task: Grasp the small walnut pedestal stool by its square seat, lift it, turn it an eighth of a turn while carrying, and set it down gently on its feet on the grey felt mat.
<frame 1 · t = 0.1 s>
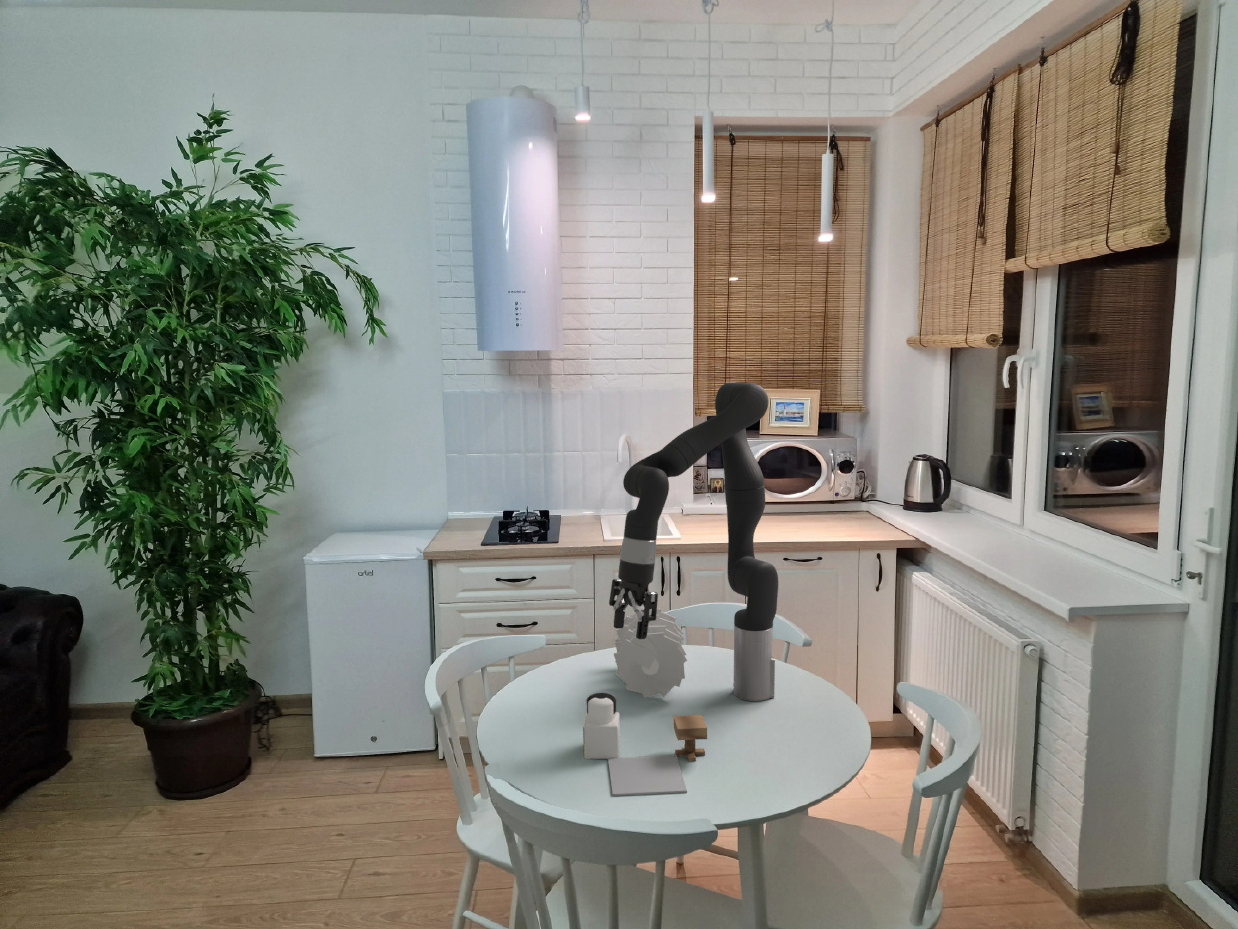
hand: (629, 633, 180), 22 cm above the table, tool pointing down, fingers open, 8 cm apart
stool: (690, 754, 172), on the table
mat: (645, 775, 163), on the table
spiral staircase: (649, 684, 209), on the table
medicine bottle: (602, 752, 174), on the table
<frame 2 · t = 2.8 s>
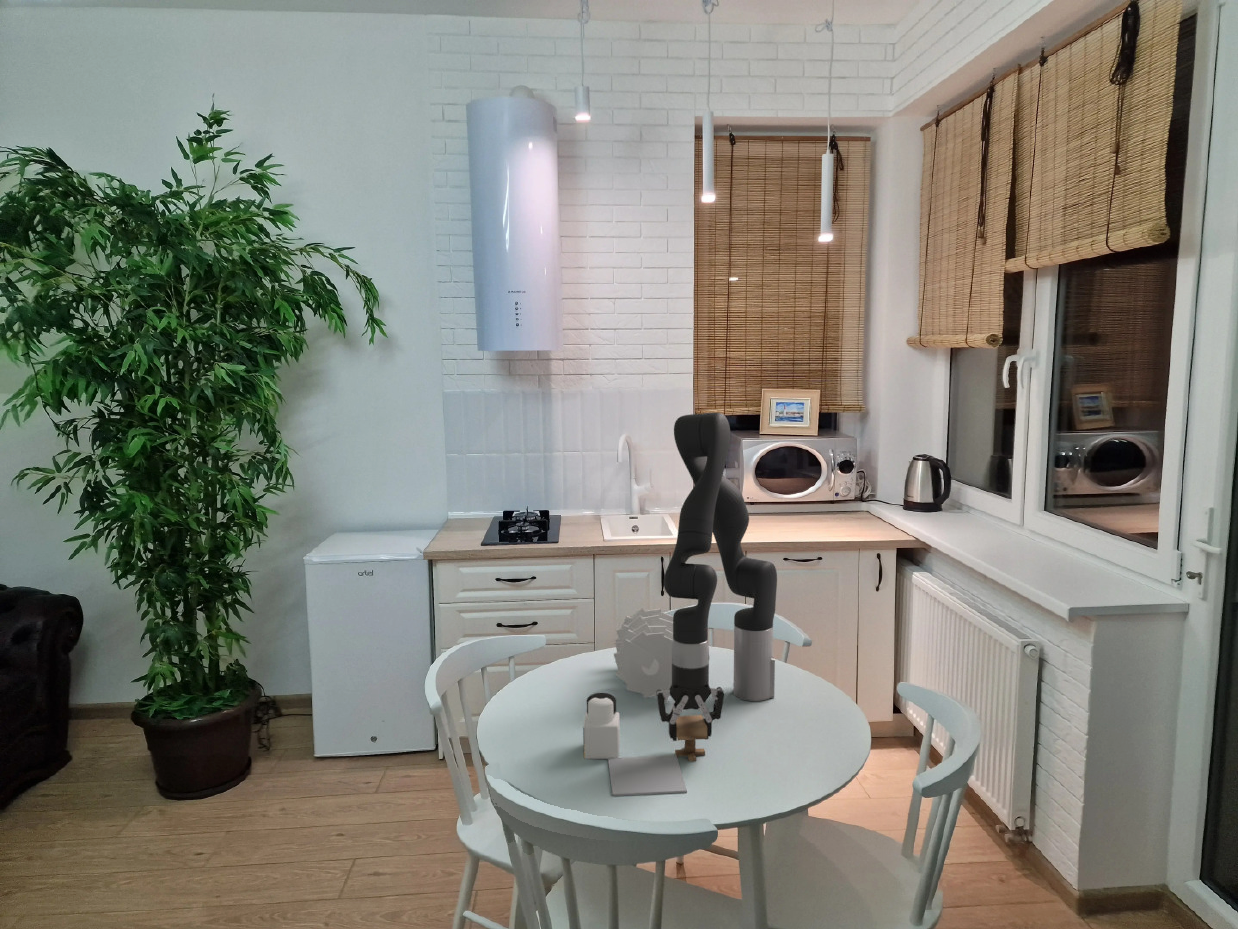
hand: (689, 738, 172), 3 cm above the table, tool pointing down, fingers closed on stool, 6 cm apart
stool: (690, 754, 172), on the table, touching gripper
everything else where it was.
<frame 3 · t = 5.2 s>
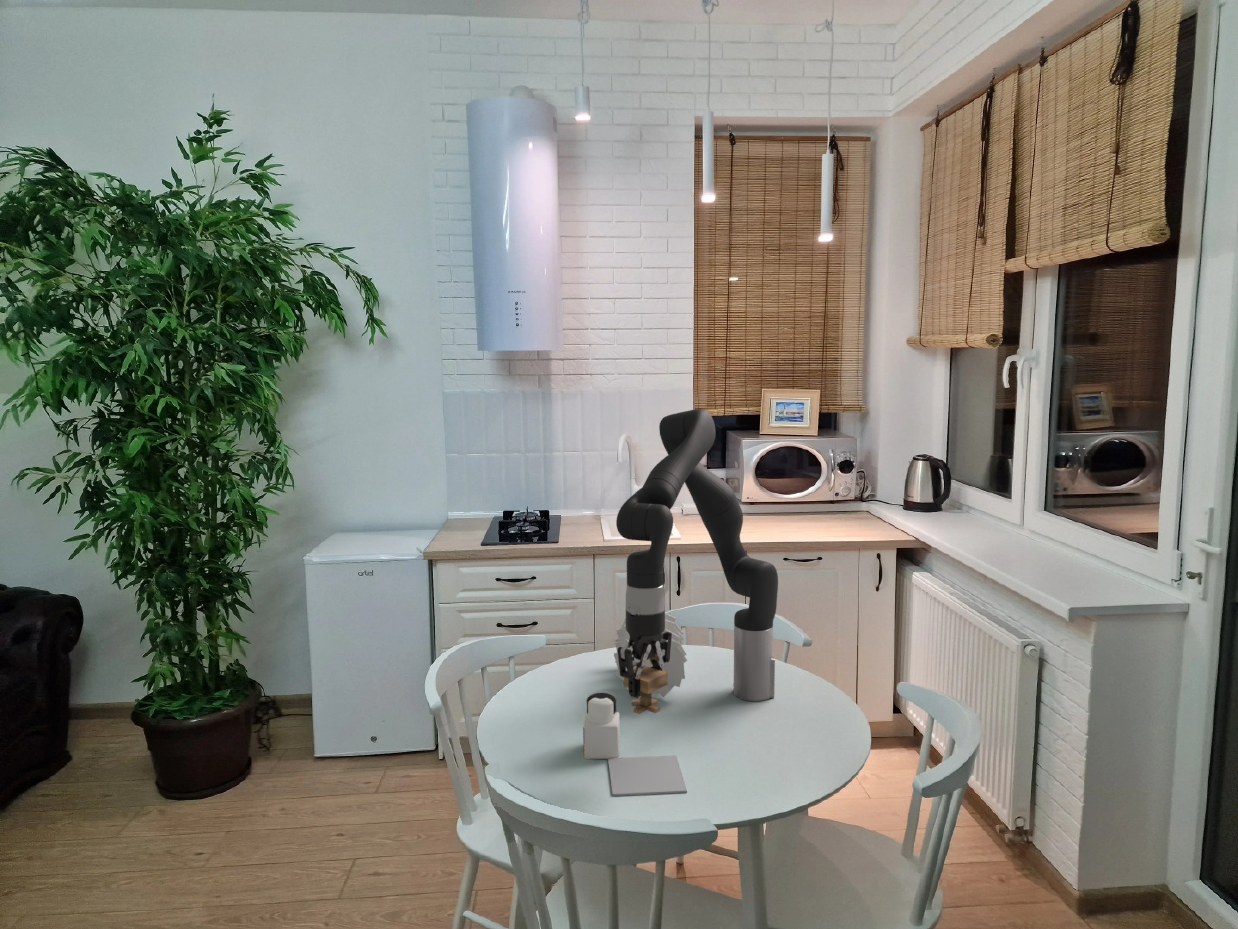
hand: (645, 691, 161), 17 cm above the table, tool pointing down, fingers closed on stool, 6 cm apart
stool: (645, 708, 162), point 14 cm above the table, touching gripper
everything else where it was.
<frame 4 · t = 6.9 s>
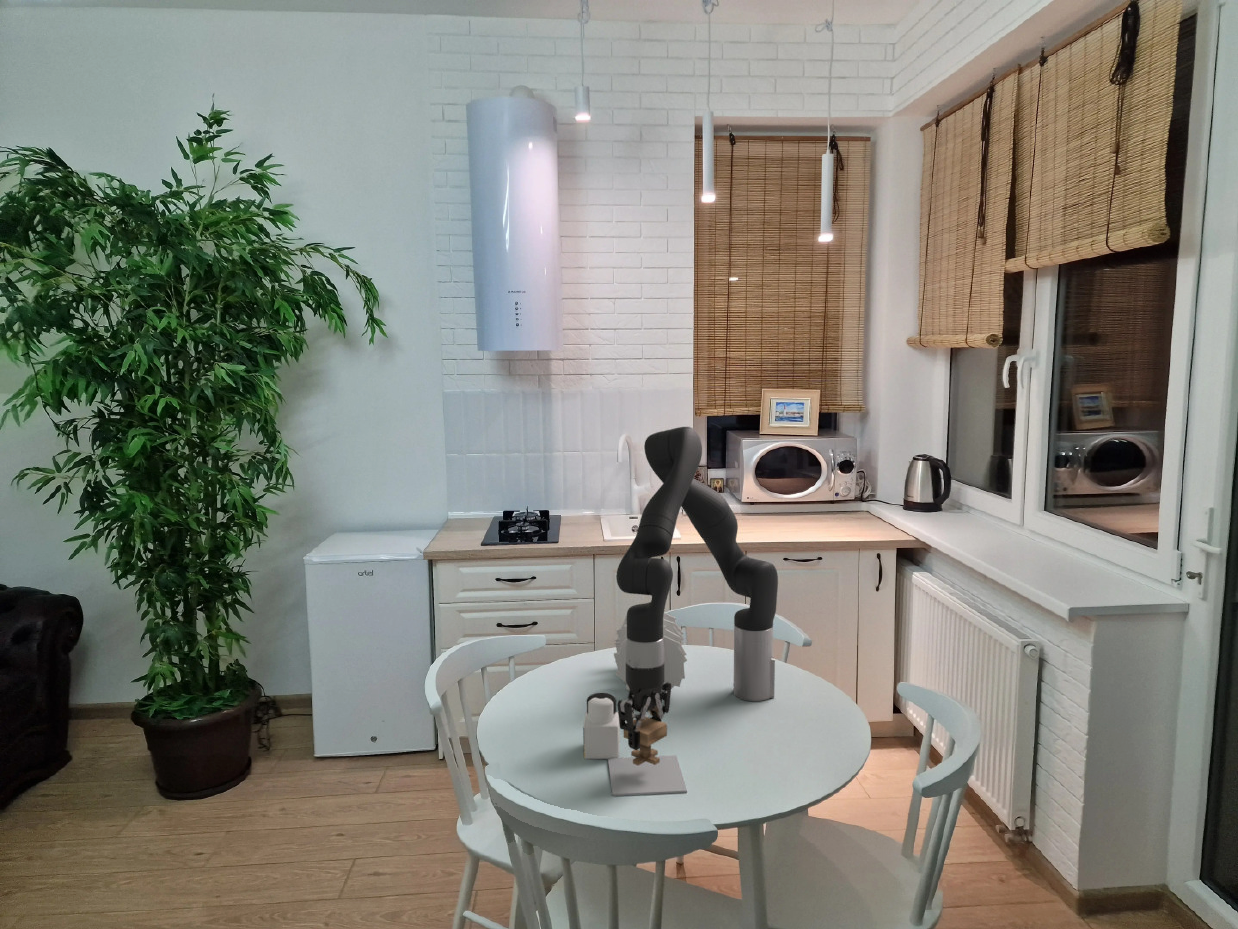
hand: (645, 742, 163), 7 cm above the table, tool pointing down, fingers closed on stool, 6 cm apart
stool: (645, 759, 163), point 3 cm above the table, touching gripper
everything else where it was.
when the fingers open (5 cm above the table, at t = 8.0 s): stool stays where it is, resting on mat.
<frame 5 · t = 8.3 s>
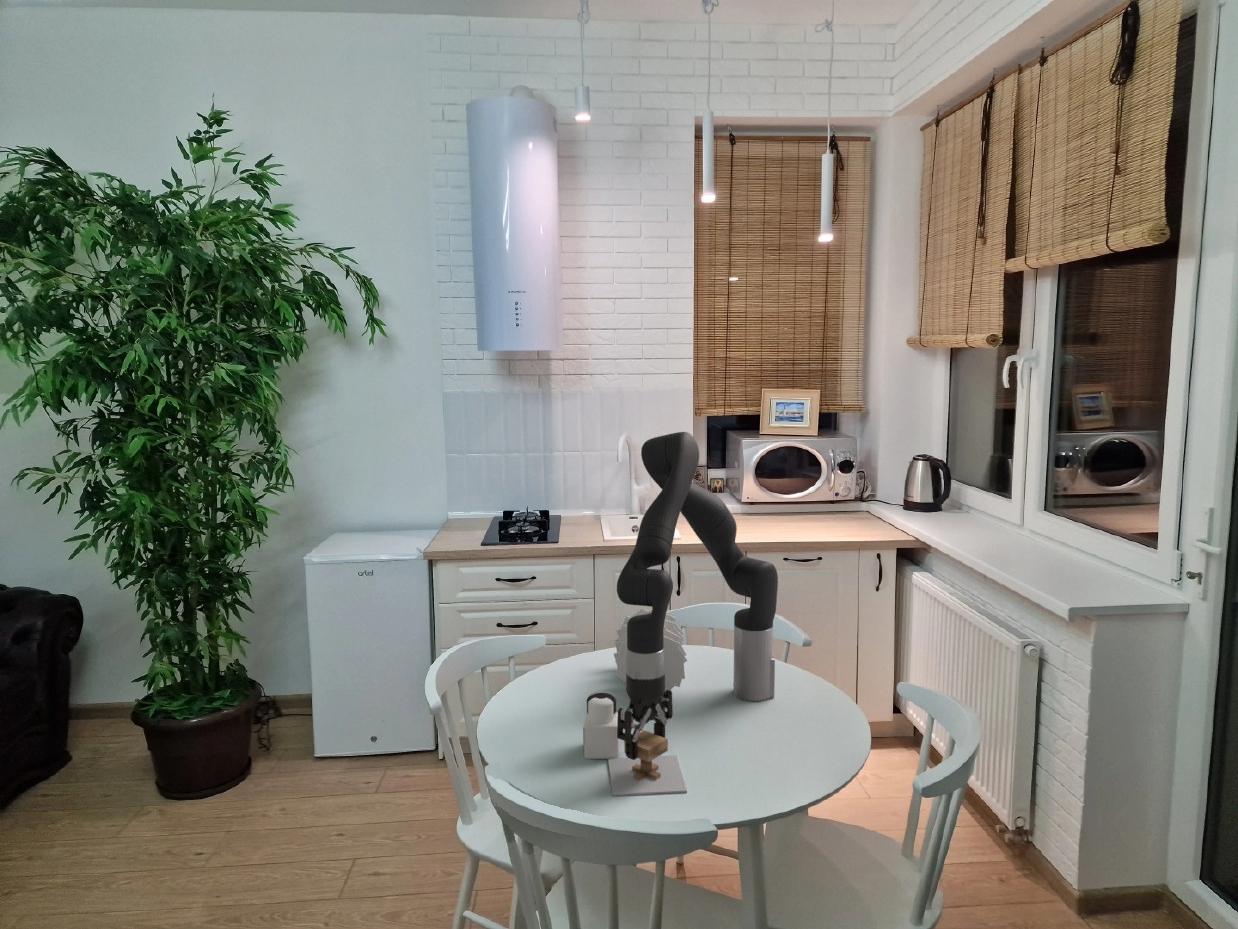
hand: (645, 750, 163), 5 cm above the table, tool pointing down, fingers open, 8 cm apart
stool: (646, 774, 163), resting on mat
everything else where it was.
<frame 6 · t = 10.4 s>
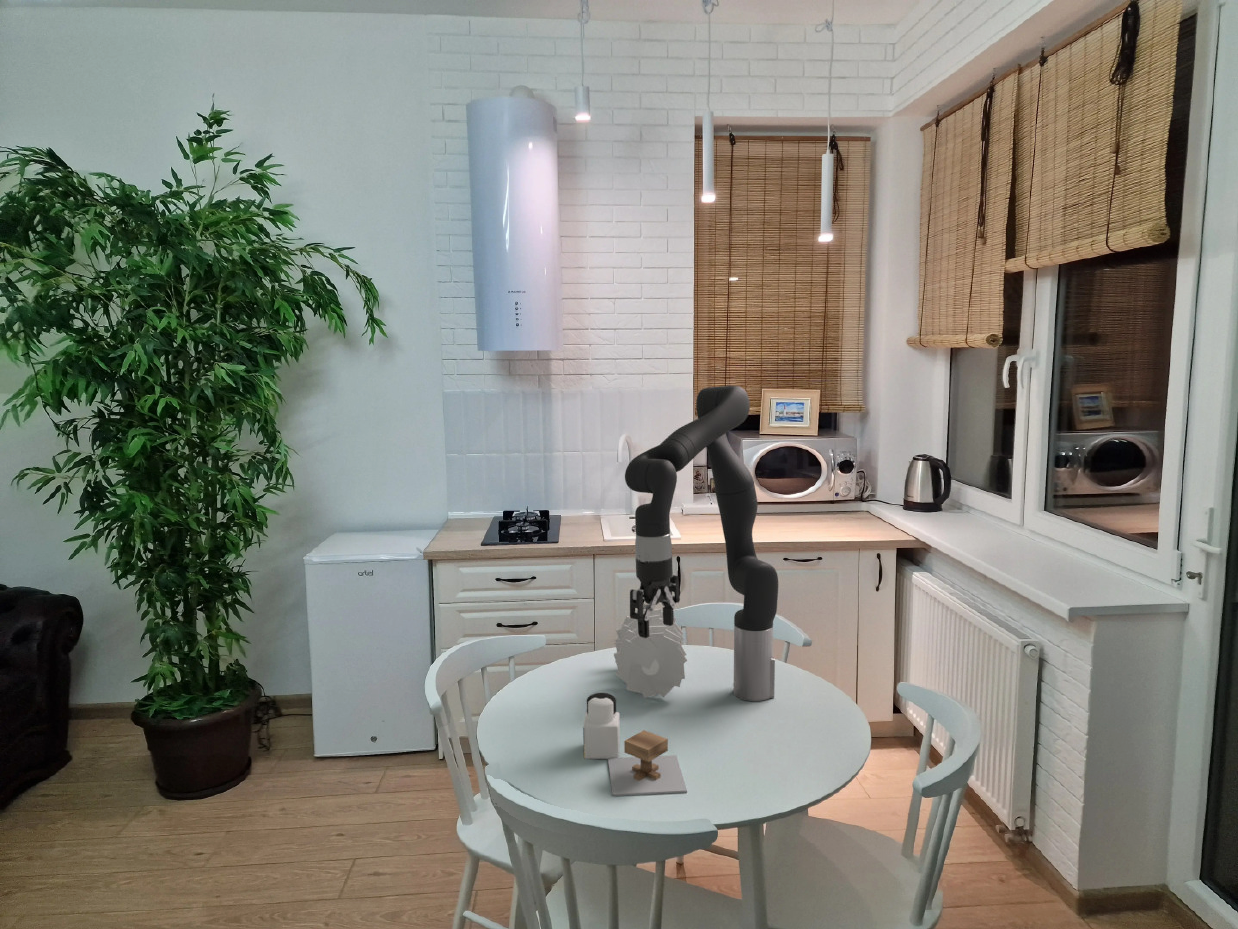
hand: (656, 630, 174), 25 cm above the table, tool pointing down, fingers open, 8 cm apart
nothing on the table moved.
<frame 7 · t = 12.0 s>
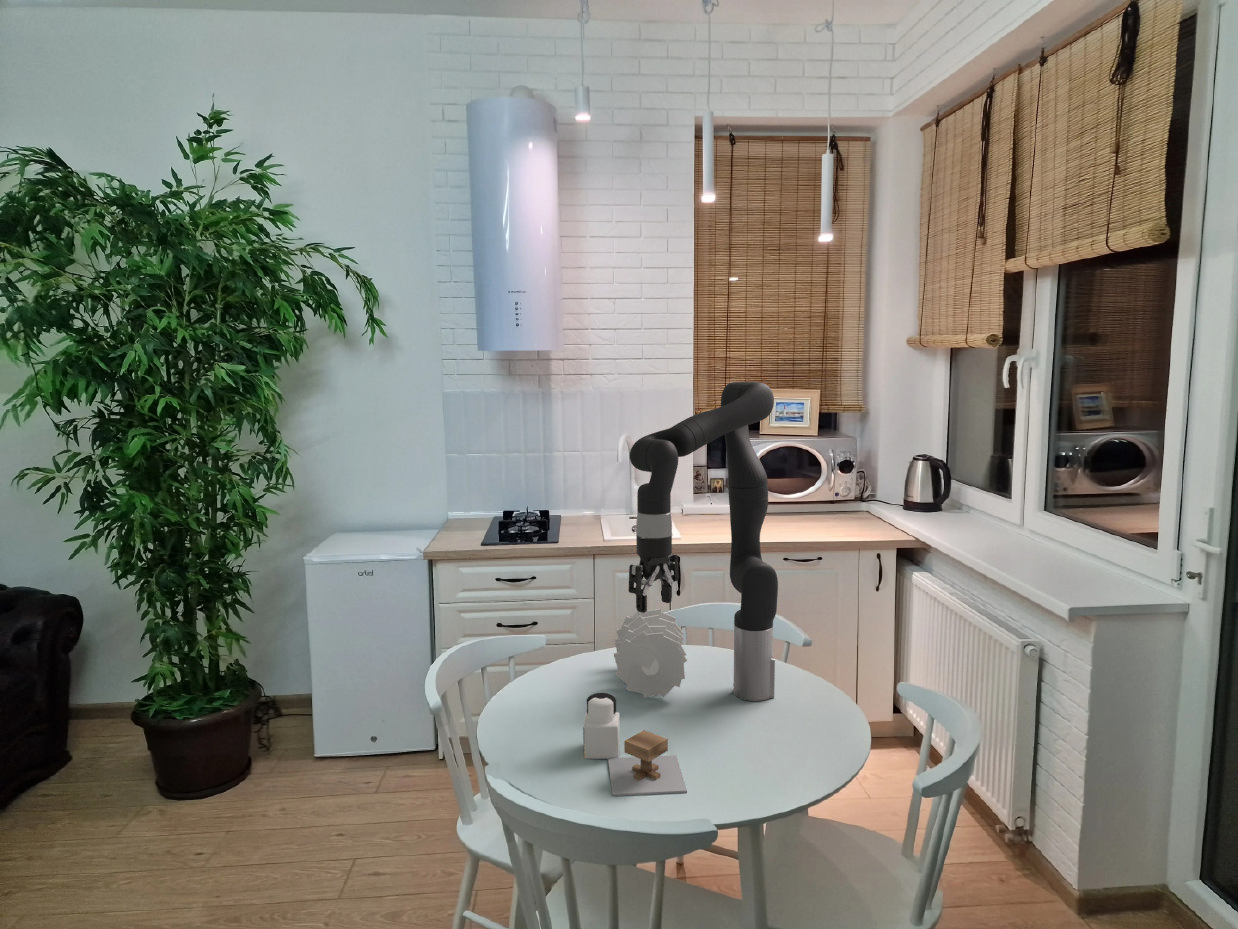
hand: (654, 607, 179), 28 cm above the table, tool pointing down, fingers open, 8 cm apart
nothing on the table moved.
at the end: stool inside the target area on the mat (0.1 cm from its centre), point 0.4 cm above the mat's base; stool tilted 0°; the gripper is holding nothing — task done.
